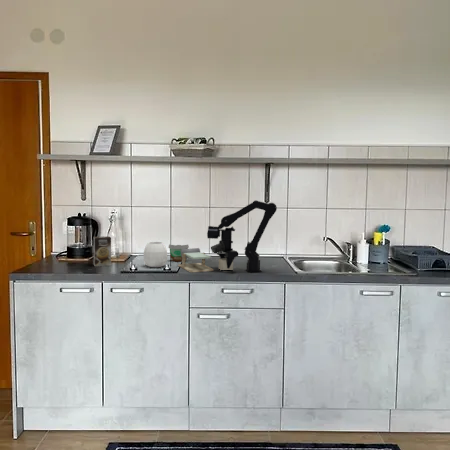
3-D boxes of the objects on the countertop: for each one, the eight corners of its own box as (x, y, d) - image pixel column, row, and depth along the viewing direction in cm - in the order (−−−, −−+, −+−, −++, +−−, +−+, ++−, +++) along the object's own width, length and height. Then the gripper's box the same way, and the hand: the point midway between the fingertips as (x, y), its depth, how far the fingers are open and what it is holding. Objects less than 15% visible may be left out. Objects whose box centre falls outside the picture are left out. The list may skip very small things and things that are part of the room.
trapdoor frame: (199, 264, 274) (200, 251, 273) (213, 270, 257) (213, 256, 256) (178, 266, 269) (178, 252, 268) (190, 272, 251) (190, 257, 250)
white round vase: (140, 265, 269) (140, 241, 268) (162, 263, 275) (162, 240, 274) (147, 269, 258) (147, 244, 256) (170, 267, 264) (170, 243, 262)
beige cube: (228, 268, 264) (228, 257, 263) (233, 270, 258) (233, 259, 258) (218, 269, 261) (218, 258, 261) (223, 271, 256) (223, 260, 255)
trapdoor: (197, 256, 274) (197, 247, 273) (210, 262, 255) (211, 252, 255) (180, 257, 269) (180, 248, 269) (193, 263, 251) (193, 253, 251)
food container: (169, 262, 280) (169, 245, 279) (168, 260, 286) (168, 244, 285) (189, 262, 282) (190, 245, 281) (188, 260, 288) (188, 243, 287)
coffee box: (94, 266, 262) (94, 237, 260) (93, 264, 268) (93, 236, 266) (111, 265, 265) (111, 237, 264) (109, 263, 271) (109, 236, 270)
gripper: (206, 237, 263) (205, 265, 265) (220, 241, 246) (219, 271, 248) (224, 236, 268) (223, 263, 269) (239, 241, 251) (238, 269, 253)
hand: (225, 267), depth 260 cm, fingers closed on beige cube, 6 cm apart
